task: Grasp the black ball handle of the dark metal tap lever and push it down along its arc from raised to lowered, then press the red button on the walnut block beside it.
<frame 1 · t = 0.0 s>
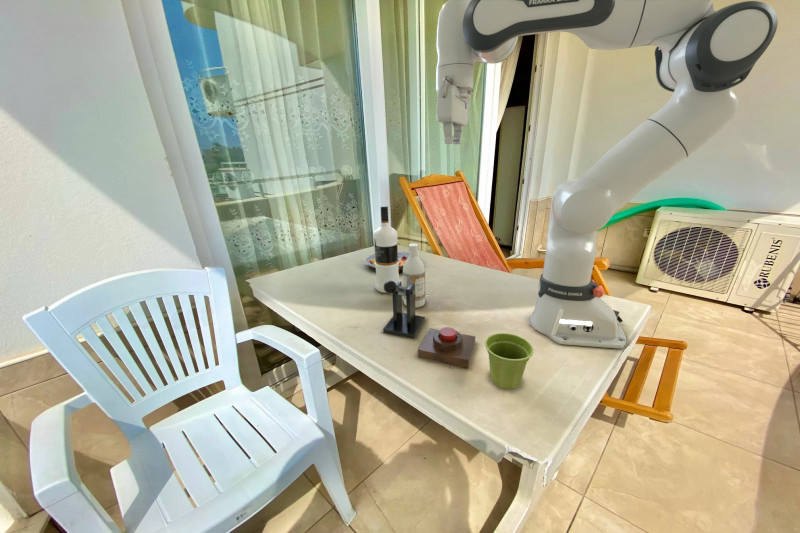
hand: (452, 144, 78), 48 cm above the table, tool pointing down, fingers open, 8 cm apart
bath foam: (414, 303, 99), on the table
button block: (447, 350, 75), on the table
plant pot: (504, 380, 65), on the table
lever: (397, 289, 78), point 14 cm above the table, hinge at 30.0°
tap bracket: (404, 326, 86), on the table
food plate: (393, 265, 134), on the table
button: (447, 334, 74), point 5 cm above the table, slide at 0.2 cm
vodka: (388, 289, 111), on the table
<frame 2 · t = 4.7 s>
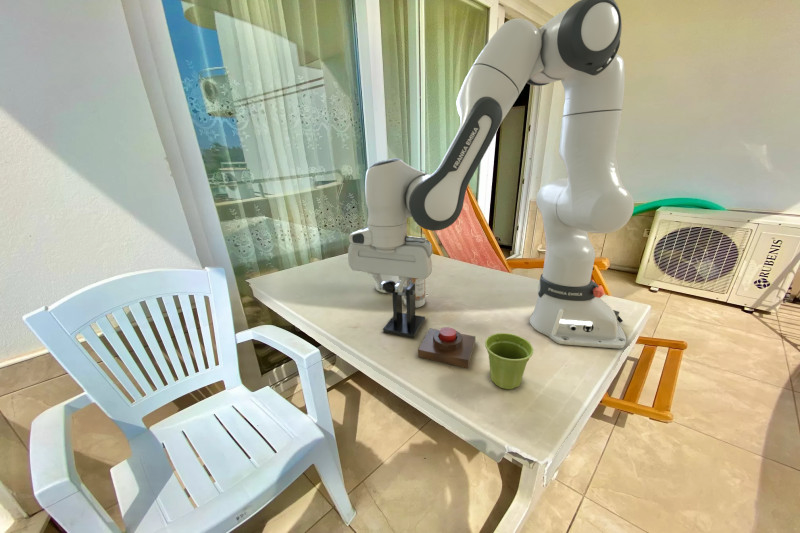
hand: (390, 290, 74), 15 cm above the table, tool pointing down, fingers closed on lever, 3 cm apart
lever: (397, 289, 78), point 14 cm above the table, hinge at 30.1°, touching gripper
everything else where it was.
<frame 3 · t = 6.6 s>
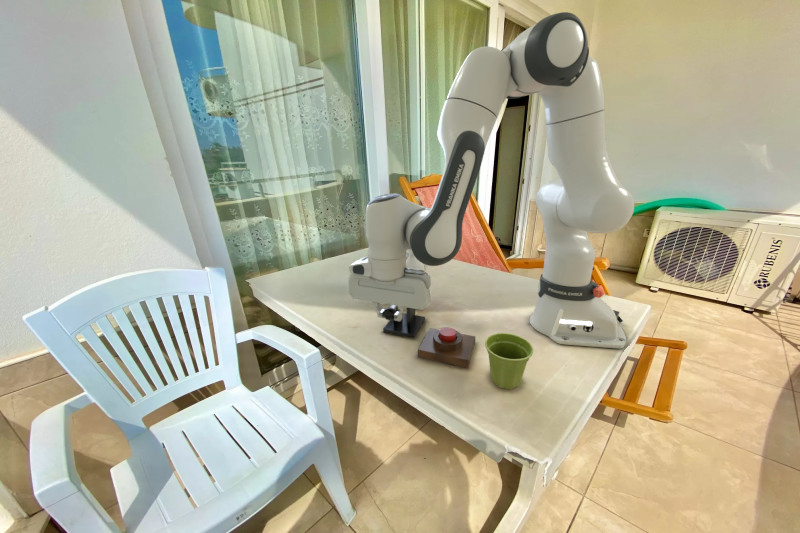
hand: (389, 318, 75), 8 cm above the table, tool pointing down, fingers closed on lever, 3 cm apart
lever: (396, 302, 78), point 10 cm above the table, hinge at -10.1°, touching gripper
everything else where it was.
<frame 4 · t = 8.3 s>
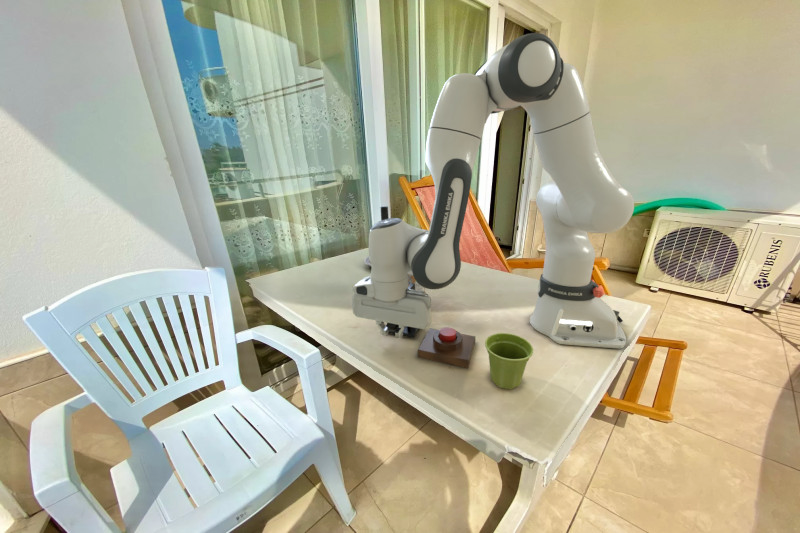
hand: (392, 335, 78), 2 cm above the table, tool pointing down, fingers closed on lever, 2 cm apart
lever: (398, 307, 80), point 8 cm above the table, hinge at -35.6°, touching gripper
everything else where it was.
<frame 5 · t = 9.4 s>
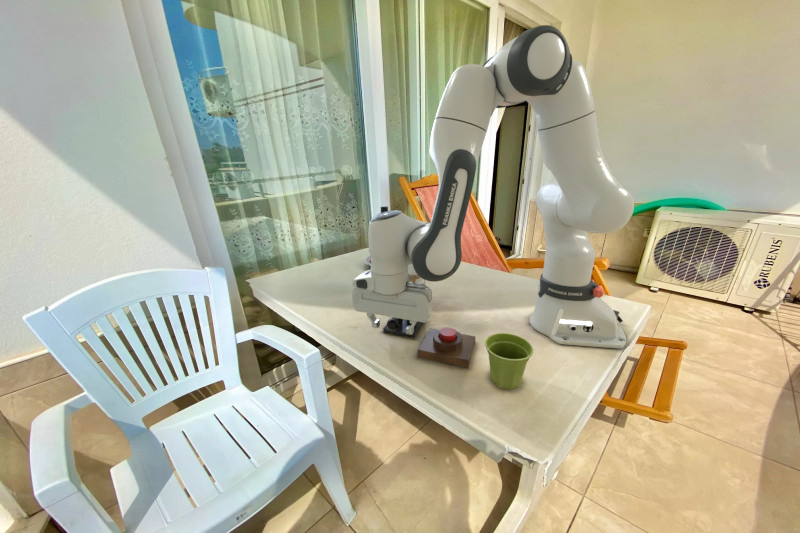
hand: (392, 329, 77), 4 cm above the table, tool pointing down, fingers open, 8 cm apart
lever: (398, 307, 80), point 8 cm above the table, hinge at -35.3°
everything else where it was.
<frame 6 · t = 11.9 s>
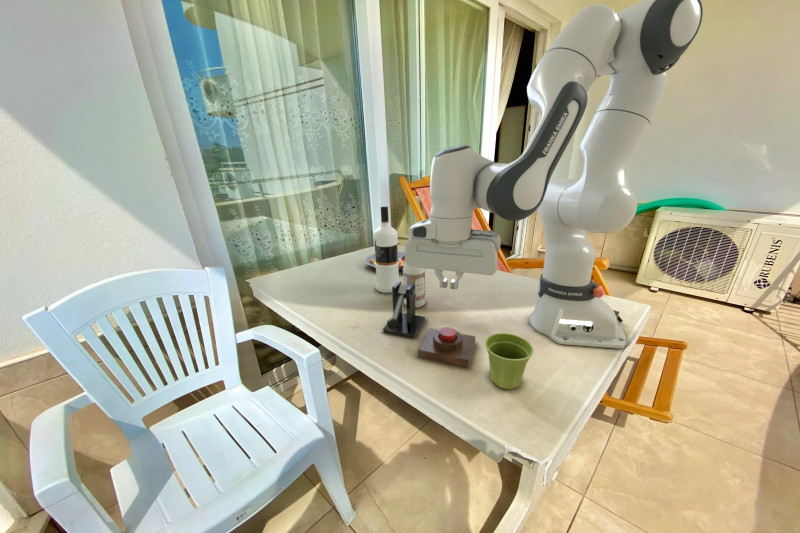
hand: (448, 287, 69), 17 cm above the table, tool pointing down, fingers closed
nothing on the table moved.
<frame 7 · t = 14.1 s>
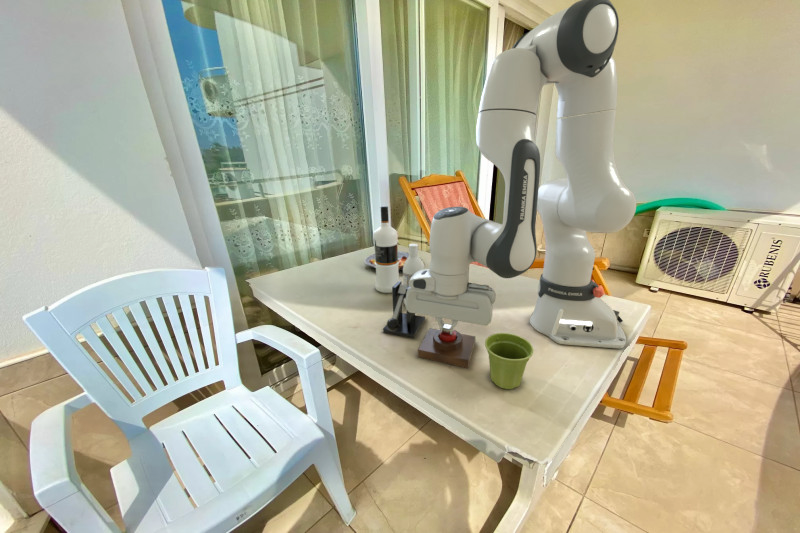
hand: (446, 332, 73), 5 cm above the table, tool pointing down, fingers closed, pressing on button
button: (447, 335, 74), point 4 cm above the table, slide at -0.2 cm, touching gripper
everything else where it was.
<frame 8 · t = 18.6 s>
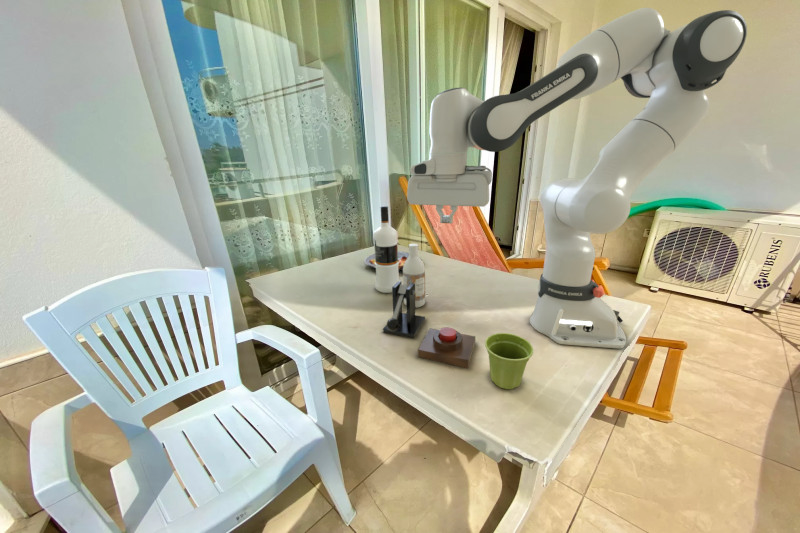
hand: (446, 222, 78), 29 cm above the table, tool pointing down, fingers closed
button: (447, 334, 74), point 5 cm above the table, slide at 0.1 cm
everything else where it was.
at the end: lever at -35° (first picture: +30°); button pushed in 1.0 cm at the most during the clip, back to where it started at the end; button slide at 0.1 cm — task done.
